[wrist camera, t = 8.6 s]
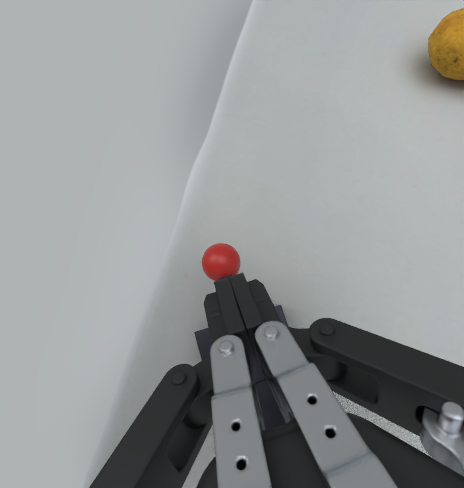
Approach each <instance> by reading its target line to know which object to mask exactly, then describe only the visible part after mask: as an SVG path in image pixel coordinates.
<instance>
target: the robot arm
mask: <svg viewBox="0 0 464 488" xmlns="http://www.w3.org/2000/svg"><path fill="white" fill-rule="evenodd" d="M229 279H230V283H231V286H232V289H231V286H230V283H229V280H228V277H227V278H224V279H221V280H218V281H215V282H214V284H215V288H216V292H214V293H211V294H208V295H206V298H205V301H204V307H205V312H206V317H207V322H208V327H209V332H210V337H211V343H212V346H211V349H210V352H209V354H208V355H207V357H206V358H205V359H204V360H202V361H201V362H200V363H198V364H197V365H195V366H194V367H192V366H191V365H189V364H180V365H177V366H175V367H173V368H172V369H170V370H169V371H168V372H167V373H166V375H165V376H164V378H163V379H162V380H161V382H160V383H159V385H158V386H157V388H156V389H155V391H154V392H153V394H152V395H151V397H150V398H149V400H148V401H147V403H146V404H145V406H144V407H143V409H142V410H141V412H140V413H139V415H138V416H137V418H136V419H135V421H134V422H133V424H132V425H131V427H130V428H129V430H128V431H127V432H126V434H125V435H124V437H123V438H122V440H121V441H120V443H119V444H118V446H117V447H116V449H115V450H114V452H113V453H112V455H111V456H110V458H109V459H108V461H107V462H106V464H105V465H104V467H103V468H102V470H101V471H100V473H99V474H98V476H97V477H96V479H95V480H94V481H93V483H92V484H91V486H90V487H89V488H182V486H183V484H184V482H185V480H186V478H187V476H188V474H189V472H190V470H191V468H192V465H193V463H194V461H195V459H196V457H197V455H198V453H199V451H200V449H201V447H202V445H203V443H204V441H205V439H206V437H207V435H208V432H209V430H210V428H211V426H212V424H213V430H214V442H215V455H216V457H215V458H214V459H213V460H212V461H211V462H210V464H209V465H208V466H207V468H206V469H205V471H204V473H203V475H202V476H201V479H200V481H199V483H198V485H197V488H464V367H462V366H459V365H457V364H454V363H451V362H449V361H446V360H443V359H440V358H438V357H435V356H432V355H430V354H427V353H424V352H421V351H419V350H416V349H413V348H411V347H408V346H405V345H402V344H400V343H397V342H394V341H392V340H389V339H386V338H383V337H381V336H378V335H375V334H373V333H370V332H367V331H365V330H362V329H359V328H356V327H354V326H351V325H348V324H346V323H343V322H340V321H337V320H335V319H331V318H322V319H319V320H316V321H315V322H313V323H312V325H311V326H310V328H308V329H295V328H291V327H288V326H286V325H285V324H284V323H283V322H282V321H281V320H280V318H279V316H278V314H277V312H276V309H275V307H274V305H273V303H272V301H271V299H270V297H269V295H268V293H267V291H266V289H265V287H264V285H263V284H262V283H261V282H259V281H258V280H256V279H255V280H252V281H249V282H247V281H246V279H245V277H244V274H243V273H240V274H237V275H234V276H230V277H229ZM232 290H233V292H232ZM233 293H234V294H233ZM248 340H249V341H248ZM249 342H250V344H249ZM250 345H251V348H252V351H253V354H254V357H255V360H256V363H257V365H258V364H261V363H262V366H263V369H264V372H265V375H266V379H267V381H268V384H269V386H270V388H271V390H272V393H273V395H274V397H275V399H276V402H277V404H278V406H279V408H280V411H281V413H282V415H283V417H284V420H285V422H286V424H285V425H284V426H282V427H281V428H279V429H272V430H265V426H264V422H263V417H262V412H261V408H260V403H259V399H258V394H257V390H256V385H255V382H254V381H255V377H254V373H253V370H252V366H255V362H254V358H253V355H252V351H251V348H250ZM332 391H334V392H336V393H338V394H340V395H341V396H343V397H345V398H347V399H349V400H351V401H353V402H355V403H357V404H359V405H361V406H362V407H364V408H366V409H368V410H370V411H372V412H374V413H376V414H378V415H380V416H382V417H384V418H385V419H387V420H389V421H391V422H393V423H395V424H397V425H399V426H401V427H403V428H405V429H406V430H408V431H410V432H412V433H414V434H416V435H418V436H420V440H421V443H422V445H423V447H424V448H425V450H426V451H427V452H428V453H429V455H431V456H432V457H433V458H434V459H433V458H431V457H430V456H428V455H426V454H424V453H423V452H421V451H419V450H418V449H416V448H414V447H412V446H411V445H409V444H407V443H406V442H404V441H402V440H400V439H399V438H397V437H395V436H394V435H392V434H390V433H388V432H387V431H385V430H383V429H382V428H380V427H378V426H377V425H375V424H373V423H371V422H370V421H368V420H366V419H364V418H362V417H359V416H357V415H354V414H351V413H346V412H345V411H344V409H343V408H342V406H341V404H340V403H339V401H338V400H337V398H336V397H335V395H334V393H333V392H332ZM435 459H436V460H437V461H436V460H435Z"/></svg>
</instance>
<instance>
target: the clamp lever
mask: <svg viewBox="0 0 464 488" xmlns="http://www.w3.org/2000/svg"><path fill="white" fill-rule="evenodd" d="M202 267H203V270H204V272H205V274H206V275H207V276H208V277H209V278H210V279H212V280H214V281H218V280H221V279H224V278H227V277H228V280H229V283H230V279H229V277H230V276H234V275H236V274H237V273H238V271H239V268H240V257H239V254H238V252H237V251H236V250H235V249H234V248H233V247H232V246H230V245H228V244H223V243H220V244H215V245H213V246H211V247H209V248H208V249H207V250H206V252H205V253H204V255H203V258H202ZM230 286H231V283H230ZM231 289H232V286H231ZM232 292H233V290H232ZM233 294H234V293H233ZM248 341H249V340H248ZM249 344H250V342H249ZM250 348H251V345H250ZM251 351H252V348H251ZM252 355H253V358H254V362H255V366H252V370H253V373H254V377H255V381H254V382H255V385H256V390H257V394H258V399H259V403H260V408H261V412H262V417H263V422H264V426H265V430H272V429H276V428H278V427H281V426H284V425H285V424H286V422H285V420H284V417H283V415H282V413H281V411H280V408H279V406H278V404H277V402H276V399H275V397H274V395H273V393H272V390H271V388H270V386H269V384H268V381H267V380H266V377H265V374H264V371H263V368H262V365H261V364H258V365H257V363H256V360H255V357H254V354H253V351H252Z"/></svg>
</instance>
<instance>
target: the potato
mask: <svg viewBox="0 0 464 488" xmlns="http://www.w3.org/2000/svg"><path fill="white" fill-rule="evenodd" d="M428 53H429V57H430V61H431V64H432V66H433V67H434V68H435V69H436V70H437V71H438V72H439V73H440V74H441V75H443V76H444V77H446V78H450V79H453V80H464V8H463V9H460V10H457V11H454V12H451V13H450V14H448V15H447V16H446V17H444V18H443V19H442V21H441V22H440V23H439V24H438V26H437V27H436V28H435V30H434V31H433V33H432V34H431V36H430V37H429V44H428Z"/></svg>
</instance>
